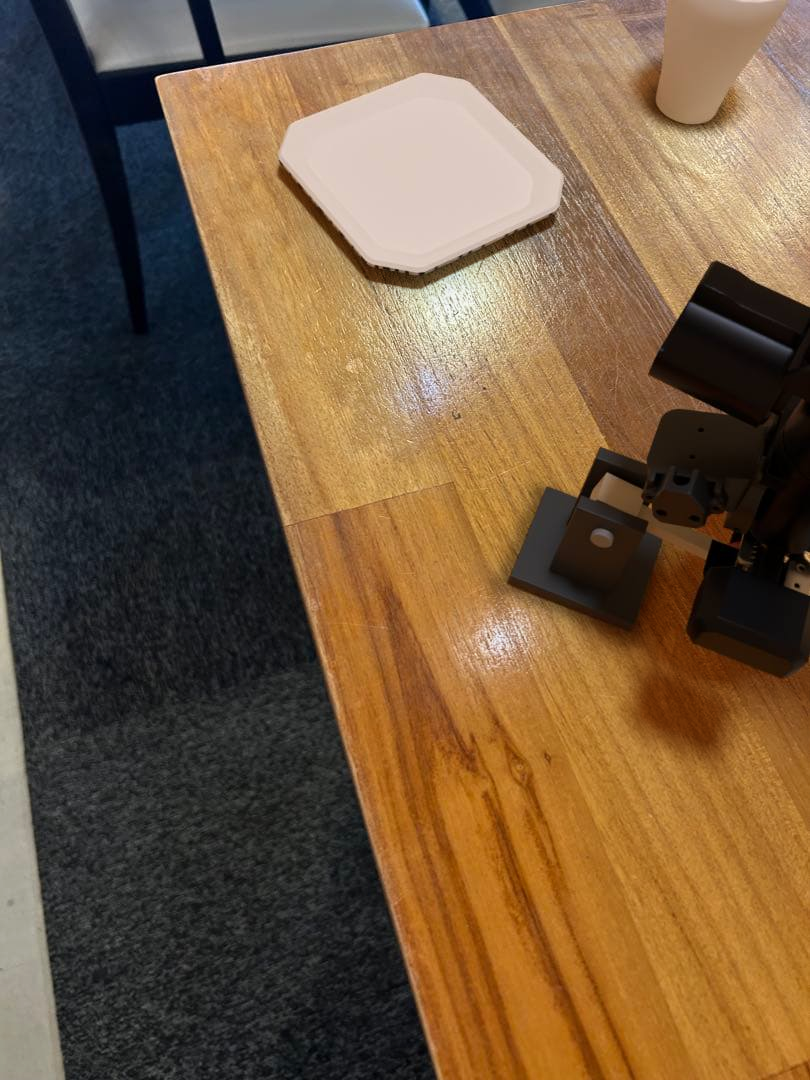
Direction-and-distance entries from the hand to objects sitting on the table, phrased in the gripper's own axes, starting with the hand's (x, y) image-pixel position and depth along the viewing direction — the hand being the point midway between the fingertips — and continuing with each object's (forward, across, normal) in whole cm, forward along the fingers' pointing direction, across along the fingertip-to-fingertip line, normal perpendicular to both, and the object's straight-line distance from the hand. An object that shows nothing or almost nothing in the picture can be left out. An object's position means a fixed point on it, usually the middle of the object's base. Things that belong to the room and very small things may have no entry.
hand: (726, 579), depth 63 cm
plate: (+5, -30, -34) cm, 45 cm away
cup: (+5, -52, -15) cm, 54 cm away
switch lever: (-1, 0, -4) cm, 5 cm away
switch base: (+4, 0, -9) cm, 10 cm away
